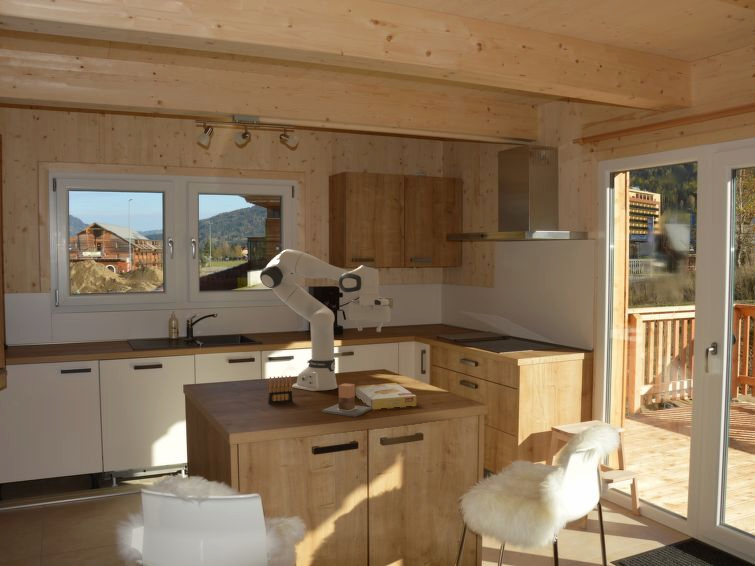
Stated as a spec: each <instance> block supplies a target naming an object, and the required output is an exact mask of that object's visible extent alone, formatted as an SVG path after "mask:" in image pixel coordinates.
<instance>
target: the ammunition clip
mask: <svg viewBox="0 0 755 566" xmlns="http://www.w3.org/2000/svg"><path fill="white" fill-rule="evenodd" d="M280 377H281V378H280ZM292 385H293V383H292V377H291V375H289V376H287V375H285V377H284V376H283V375H281V376H277V378H276V376H273V379H272V376H269V380H268V395H267V396H268V398H267V403H269V405H272V404H271V403H277V404H287V403H286V402H289V403H293V387H292Z"/></svg>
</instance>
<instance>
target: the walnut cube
mask: <svg viewBox="0 0 755 566" xmlns="http://www.w3.org/2000/svg"><path fill="white" fill-rule="evenodd" d="M355 397H356V395H355V396H354V397H352V398H341V397H339V396H338V403H339V409H342V410H351V409H353V408H355V405H356V398H355Z"/></svg>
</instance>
